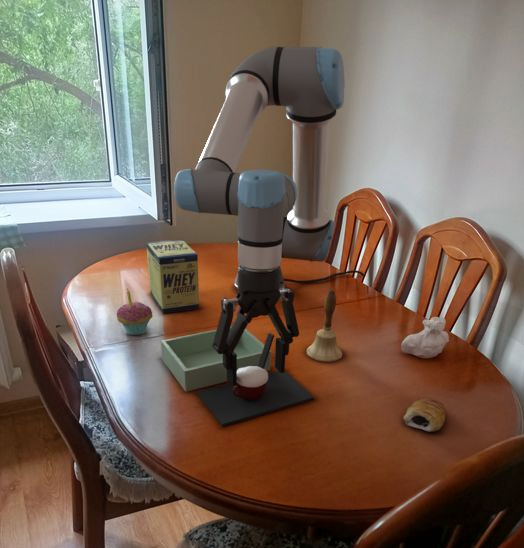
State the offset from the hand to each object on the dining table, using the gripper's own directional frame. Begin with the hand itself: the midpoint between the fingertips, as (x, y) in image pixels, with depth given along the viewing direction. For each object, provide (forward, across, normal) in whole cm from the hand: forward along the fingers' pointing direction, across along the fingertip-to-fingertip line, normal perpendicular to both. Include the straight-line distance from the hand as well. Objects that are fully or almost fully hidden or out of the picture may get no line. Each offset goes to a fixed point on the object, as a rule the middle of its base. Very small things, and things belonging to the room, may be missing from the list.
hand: (256, 375), depth 96 cm
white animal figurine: (+5, -44, +2) cm, 44 cm away
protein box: (+5, -2, -53) cm, 53 cm away
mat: (+5, 0, 0) cm, 5 cm away
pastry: (+5, -25, +21) cm, 33 cm away
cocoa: (+5, +1, 0) cm, 5 cm away
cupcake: (+5, +13, -39) cm, 41 cm away
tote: (+5, +2, -15) cm, 16 cm away
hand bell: (+5, -23, -9) cm, 25 cm away
